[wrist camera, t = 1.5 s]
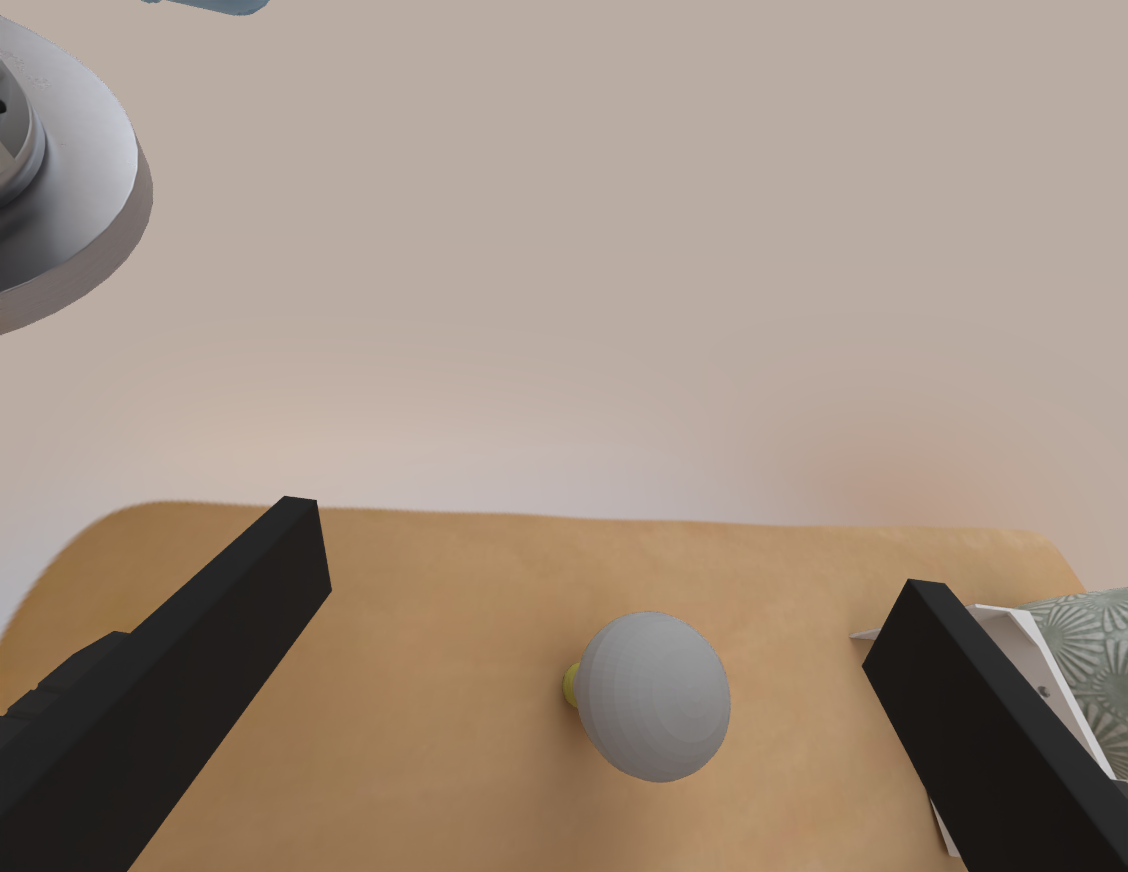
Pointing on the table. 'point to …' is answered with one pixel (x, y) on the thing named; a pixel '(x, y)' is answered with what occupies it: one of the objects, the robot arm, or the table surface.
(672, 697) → the light bulb
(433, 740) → the table surface
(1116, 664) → the planter
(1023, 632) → the bracket
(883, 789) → the table surface
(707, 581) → the table surface
